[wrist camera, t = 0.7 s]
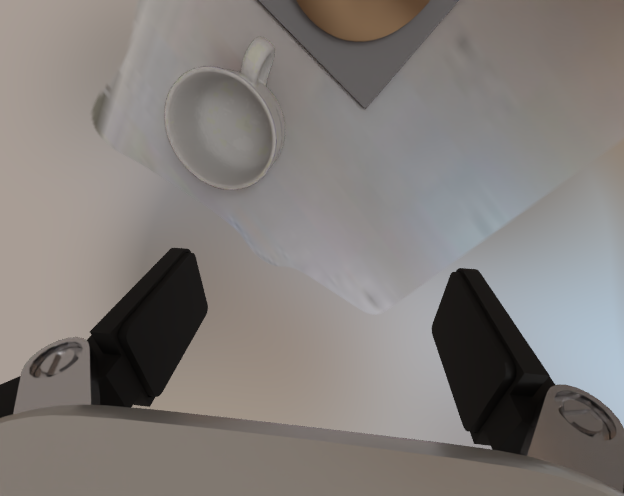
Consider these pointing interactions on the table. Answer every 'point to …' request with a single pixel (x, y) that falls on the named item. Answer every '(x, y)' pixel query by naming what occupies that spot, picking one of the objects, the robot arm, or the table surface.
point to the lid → (361, 16)
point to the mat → (360, 46)
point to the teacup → (227, 120)
